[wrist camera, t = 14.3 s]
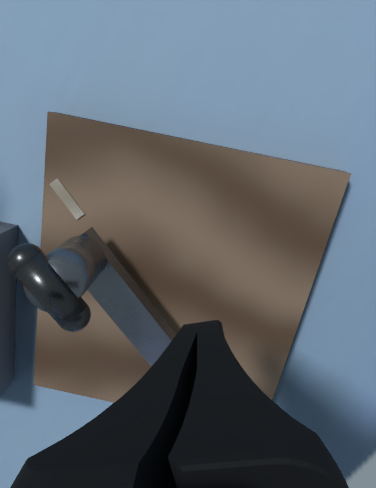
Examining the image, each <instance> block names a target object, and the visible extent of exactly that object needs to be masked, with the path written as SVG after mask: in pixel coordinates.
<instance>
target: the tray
mask: <svg viewBox="0 0 376 488" xmlns="http://www.w3.org/2000/svg"><path fill="white" fill-rule="evenodd" d="M17 232H18V225H14V224H9V223H4V222H0V396H1V395H2V394H3V392H4V391H5V390H6V389H7V387H8V386H9V385H10V384H11V383H12V381H13V379H14V342H15V306H16V276H15V274H14V273H13V272H12V271H11V269H10V268H9V265H8V256H9V254H10V252H11V251H12V249H13V248H15V247H16V246H17Z"/></svg>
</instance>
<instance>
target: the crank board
mask: <svg viewBox="0 0 376 488" xmlns="http://www.w3.org/2000/svg"><path fill="white" fill-rule="evenodd" d="M350 175H351V174H350V173H347V172H344V171H340V170H335V169H330V168H325V167H320V166H315V165H310V164H306V163H301V162H296V161H291V160H286V159H281V158H276V157H271V156H266V155H262V154H257V153H252V152H247V151H242V150H237V149H232V148H227V147H223V146H218V145H213V144H208V143H203V142H198V141H193V140H188V139H183V138H179V137H174V136H169V135H164V134H159V133H154V132H149V131H144V130H139V129H135V128H130V127H125V126H120V125H115V124H110V123H105V122H100V121H96V120H91V119H86V118H81V117H76V116H71V115H66V114H61V113H56V112H48V117H47V136H46V156H45V175H44V194H43V214H42V233H41V250H42V251H43V252H44V253H45V254H46V255H47V254H49V253H50V252H51V251H53V250H54V249H56V248H57V247H58V246H60V245H61V244H62V243H64V242H65V241H66V240H68V239H69V238H71V237H74V236H79V235H81V234H82V233H84V232H85V231H86V230H88V229H89V228H91V227H93V229H94V230H95V231H96V232H97V234H98V235H99V236H100V238H101V239H102V240H103V241H104V243H105V244H106V245H107V246H108V248H109V249H110V250H111V252H112V253H113V254H114V255H115V257H116V258H117V259H118V260H119V262H120V263H121V264H122V266H123V267H124V268H125V269H126V271H127V272H128V273H129V274H130V276H131V277H132V278H133V280H134V281H135V282H136V283H137V285H138V286H139V287H140V289H141V290H142V291H143V292H144V294H145V295H146V296H147V297H148V299H149V300H150V301H151V303H152V304H153V305H154V306H155V308H156V309H157V310H158V311H159V313H160V314H161V315H162V317H163V318H164V319H165V320H166V322H167V323H168V324H169V325H170V327H171V328H172V329H173V331H174V332H175V333H176V334H177V333H178V331H179V330H180V329H181V327H182V326H183V325H184V324H191V323H198V322H205V321H212V320H219V321H220V322H222V327H223V332H224V337H225V339H226V341H227V343H228V345H229V347H230V349H231V351H232V353H233V354H234V356H235V358H236V359H237V361H238V362H239V364H240V365H241V366H242V368H243V369H244V371H245V372H246V373H247V374H248V376H249V377H250V378H251V379H252V381H253V382H254V383H255V384H256V385H257V386H258V387H259V388H260V389H261V390H262V392H263V393H265V394H266V395H267V396H268V397H269V398H270V399H271V400H273V397H274V394H275V391H276V388H277V385H278V383H279V380H280V377H281V374H282V371H283V368H284V365H285V362H286V360H287V357H288V354H289V351H290V348H291V345H292V342H293V339H294V336H295V334H296V331H297V328H298V325H299V322H300V319H301V316H302V313H303V311H304V308H305V305H306V302H307V299H308V296H309V293H310V290H311V287H312V285H313V282H314V279H315V276H316V273H317V270H318V267H319V264H320V262H321V259H322V256H323V253H324V250H325V247H326V244H327V241H328V238H329V236H330V233H331V230H332V227H333V224H334V221H335V218H336V215H337V213H338V210H339V207H340V204H341V201H342V198H343V195H344V192H345V189H346V187H347V184H348V181H349V178H350ZM82 299H83V300H84V301H85V302H86V303H87V305H88V306H89V308H90V311H91V318H90V321H89V323H88V324H87V326H86V327H85V328H83V329H82V330H80V331H77V332H68V331H65V330H64V329H62V328H61V327H60V326H59V325H58V323H57V322H56V321H55V320H54V319H53V318H52V317H51V315H50V314H49V313H47V312H44V311H42V310H40V309H38V310H37V330H36V349H35V368H34V385H37V386H41V387H46V388H51V389H55V390H60V391H64V392H69V393H73V394H78V395H82V396H87V397H91V398H96V399H101V400H105V401H110V402H114V403H115V402H116V401H117V400H118V399H120V398H121V397H122V396H123V395H124V394H125V393H126V392H127V391H128V390H130V389H131V388H132V387H133V386H134V385H135V384H136V383H137V382H138V381H139V380H140V379H141V378H142V377H143V376H144V375H145V373H146V372H147V371H148V370H149V369H150V368H151V366H150V365H149V364H148V362H147V361H146V360H145V359H144V358H143V356H142V355H141V354H140V353H139V352H138V350H137V349H136V348H135V347H134V345H133V344H132V343H131V342H130V341H129V339H128V338H127V337H126V336H125V335H124V333H123V332H122V331H121V330H120V329H119V327H118V326H117V325H116V324H115V323H114V321H113V320H112V319H111V318H110V317H109V315H108V314H107V313H106V312H105V310H104V309H103V308H102V307H101V306H100V304H99V303H98V302H97V301H96V300H95V298H94V297H93V296H92V295H91V294H90V292H89V291H88V290H87V291H86V292H85V293H84V294H83V296H82Z"/></svg>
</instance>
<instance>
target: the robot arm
mask: <svg viewBox="0 0 376 488" xmlns="http://www.w3.org/2000/svg"><path fill="white" fill-rule="evenodd" d="M11 488H348V485H347V483H346V481H345V479H344V477H343V475H342V473H341V471H340V469H339V468H338V466H337V464H336V462H335V461H334V459H333V457H332V456H331V454H330V453H329V451H328V450H327V448H326V447H325V445H324V444H323V442H322V441H321V439H320V438H319V436H318V435H317V434H316V433H315V432H313V431H312V430H310V429H309V428H307V427H306V426H304V425H302V424H301V423H299V422H298V421H296V420H295V419H294V418H292V417H291V416H290V415H289V414H287V413H286V412H285V411H283V410H282V409H281V408H280V407H279V406H278V405H277V404H275V403H274V402H273V401H272V400H271V399H270V398H269V397H268V396H267V395H266V394H265V393H263V392H262V390H261V389H260V388H259V387H258V386H257V385H256V384H255V383H254V382H253V381H252V379H251V378H250V377H249V376H248V374H247V373H246V372H245V371H244V369H243V368H242V366H241V365H240V364H239V362H238V361H237V359H236V358H235V356H234V354H233V353H232V351H231V349H230V347H229V345H228V343H227V341H226V339H225V337H224V332H223V327H222V322H220V321H219V320H212V321H205V322H198V323H191V324H184V325H183V326H182V327H181V329H180V330H179V331H178V333H177V334H176V336H175V337H174V338H173V340H172V341H171V342H170V344H169V345H168V347H167V348H166V349H165V350H164V352H163V353H162V354H161V356H160V357H159V358H158V360H157V361H156V362H155V363H154V364H153V365H152V366H151V368H150V369H149V370H148V371H147V372H146V373H145V375H144V376H143V377H142V378H141V379H140V380H139V381H138V382H137V383H136V384H135V385H134V386H133V387H132V388H131V389H130V390H128V391H127V392H126V393H125V394H124V395H123V396H122V397H121V398H120V399H118V400H117V401H116V402H115V403H113V404H112V405H111V406H110V407H108V408H107V409H106V410H105V411H103V412H102V413H101V414H100V415H98V416H97V417H96V418H94V419H93V420H91V421H90V422H88V423H87V424H86V425H84V426H83V427H81V428H80V429H78V430H76V431H75V432H73V433H72V434H70V435H69V436H67V437H65V438H64V439H62V440H60V441H59V442H57V443H55V444H53V445H51V446H50V447H48V448H46V449H44V450H43V451H41V452H39V453H37V454H35V455H33V456H31V457H30V458H28V459H27V460H26V462H25V464H24V465H23V467H22V469H21V470H20V472H19V474H18V475H17V477H16V479H15V481H14V482H13V484H12V486H11Z"/></svg>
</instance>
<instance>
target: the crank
mask: <svg viewBox="0 0 376 488" xmlns="http://www.w3.org/2000/svg"><path fill="white" fill-rule="evenodd" d="M8 265H9V268H10V269H11V271H12V272H13V273H14V274H15V276H16V277H17V278H18V279H19V280H20V281H21V282H22V284H23V287H24V291H25V294H26V296H27V298H28V299H29V300H30V302H31V303H32V304H33V305H34V306H36V307H37V308H38V309H40V310H42V311H44V312H47V313H49V314H50V315H51V317H52V318H53V319H54V320H55V321H56V322H57V323H58V325H59V326H60V327H61V328H62V329H64V330H65V331H68V332H77V331H80V330H82V329H83V328H85V327H86V326H87V324H88V323H89V321H90V318H91V311H90V308H89V306H88V305H87V303H86V302H85V301H84V300H83V299H82V296H83V294H84V293H85V292H86V291H87V290H88V291H89V292H90V294H91V295H92V296H93V297H94V298H95V300H96V301H97V302H98V303H99V304H100V306H101V307H102V308H103V309H104V310H105V312H106V313H107V314H108V315H109V317H110V318H111V319H112V320H113V321H114V323H115V324H116V325H117V326H118V327H119V329H120V330H121V331H122V332H123V333H124V335H125V336H126V337H127V338H128V339H129V341H130V342H131V343H132V344H133V345H134V347H135V348H136V349H137V350H138V352H139V353H140V354H141V355H142V356H143V358H144V359H145V360H146V361H147V362H148V364H149V365H150V366H152V365H153V364H154V363H155V362H156V361H157V360H158V358H159V357H160V356H161V354H162V353H163V352H164V350H165V349H166V348H167V347H168V345H169V344H170V342H171V341H172V340H173V338H174V337H175V336H176V333H175V332H174V331H173V329H172V328H171V327H170V325H169V324H168V323H167V322H166V320H165V319H164V318H163V317H162V315H161V314H160V313H159V311H158V310H157V309H156V308H155V306H154V305H153V304H152V303H151V301H150V300H149V299H148V297H147V296H146V295H145V294H144V292H143V291H142V290H141V289H140V287H139V286H138V285H137V283H136V282H135V281H134V280H133V278H132V277H131V276H130V274H129V273H128V272H127V271H126V269H125V268H124V267H123V266H122V264H121V263H120V262H119V260H118V259H117V258H116V257H115V255H114V254H113V253H112V252H111V250H110V249H109V248H108V246H107V245H106V244H105V243H104V241H103V240H102V239H101V238H100V236H99V235H98V234H97V232H96V231H95V230H94V229H93V227H91V228H89V229H88V230H86V231H85V232H84V233H82V234H81V235H79V236H74V237H71V238H69V239H68V240H66V241H65V242H64V243H62V244H61V245H60V246H58V247H57V248H56V249H54V250H53V251H51V252H50V253H49V254H47V255H46V254H45V253H44V252H43V251H42V250H41V249H40V248H39V247H38V246H36V245H34V244H30V243H25V244H20V245H18V246H16V247H15V248H13V249H12V251H11V252H10V254H9V256H8Z"/></svg>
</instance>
